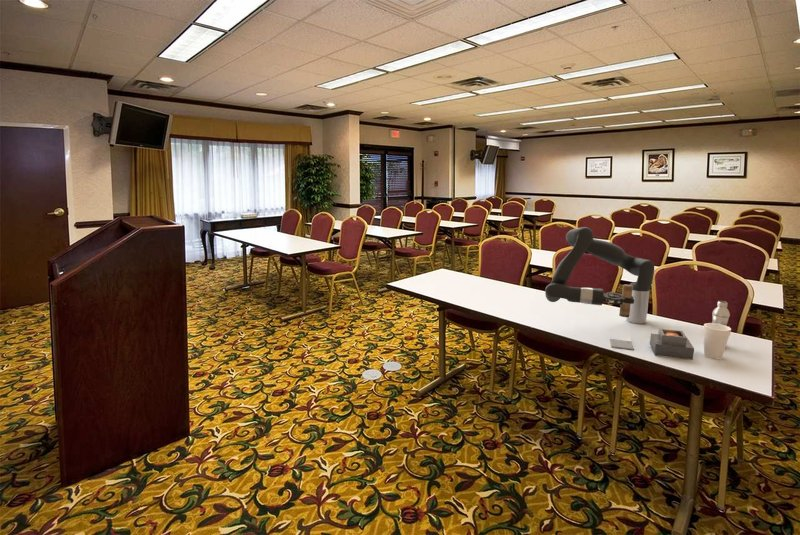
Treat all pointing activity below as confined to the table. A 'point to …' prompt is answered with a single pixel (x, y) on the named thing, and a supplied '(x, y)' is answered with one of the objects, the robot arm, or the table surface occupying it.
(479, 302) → the table surface
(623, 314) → the stick
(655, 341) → the grey button housing
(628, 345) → the mat
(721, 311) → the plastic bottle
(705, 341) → the foam cup
